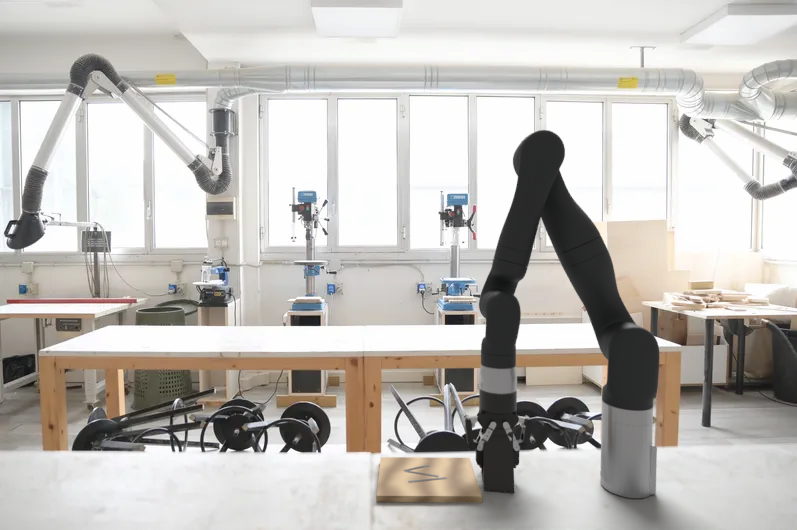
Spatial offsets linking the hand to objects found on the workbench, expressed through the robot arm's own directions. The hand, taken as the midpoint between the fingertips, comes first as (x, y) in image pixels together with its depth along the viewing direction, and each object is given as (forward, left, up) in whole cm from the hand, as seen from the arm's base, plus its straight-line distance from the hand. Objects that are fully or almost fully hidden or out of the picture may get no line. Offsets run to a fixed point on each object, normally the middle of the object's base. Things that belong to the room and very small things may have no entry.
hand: (497, 466), depth 95 cm
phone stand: (0, 0, -3) cm, 3 cm away
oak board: (+14, 0, -3) cm, 15 cm away
